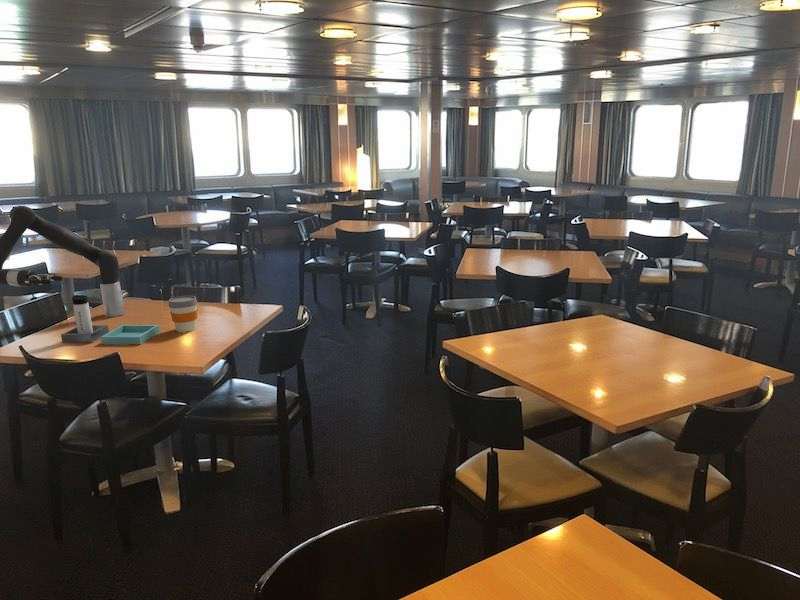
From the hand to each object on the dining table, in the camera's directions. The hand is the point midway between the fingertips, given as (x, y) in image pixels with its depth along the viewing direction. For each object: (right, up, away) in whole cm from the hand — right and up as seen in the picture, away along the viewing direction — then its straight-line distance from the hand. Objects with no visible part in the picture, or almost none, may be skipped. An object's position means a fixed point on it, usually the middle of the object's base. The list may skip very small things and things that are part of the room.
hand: (56, 280), depth 278 cm
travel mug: (+11, -26, +5) cm, 29 cm away
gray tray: (+11, -26, +5) cm, 29 cm away
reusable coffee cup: (+54, -23, +14) cm, 60 cm away
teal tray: (+33, -26, +3) cm, 42 cm away
